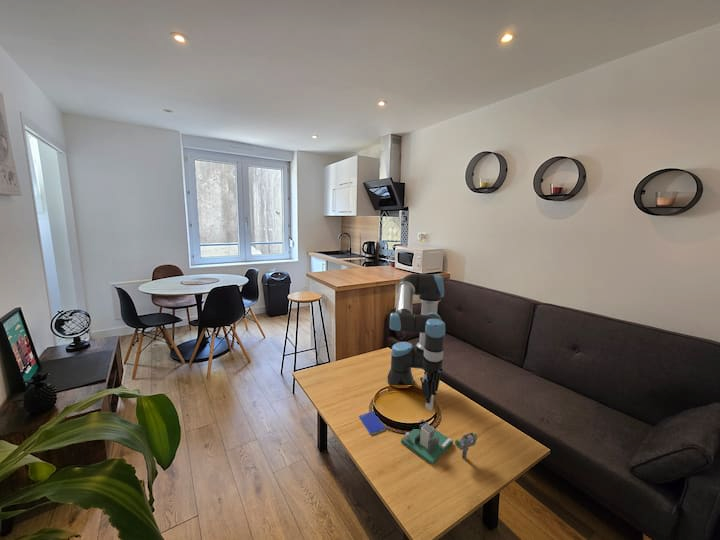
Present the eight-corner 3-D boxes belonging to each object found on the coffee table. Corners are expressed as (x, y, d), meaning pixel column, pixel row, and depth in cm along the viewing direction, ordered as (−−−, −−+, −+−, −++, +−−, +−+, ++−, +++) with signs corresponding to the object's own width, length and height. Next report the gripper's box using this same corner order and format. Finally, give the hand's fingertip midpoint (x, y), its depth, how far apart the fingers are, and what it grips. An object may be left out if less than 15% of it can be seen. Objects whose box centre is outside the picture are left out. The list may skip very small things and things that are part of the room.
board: (422, 424, 144) (422, 416, 143) (452, 443, 133) (453, 435, 131) (401, 442, 133) (401, 433, 132) (432, 465, 122) (432, 456, 121)
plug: (425, 438, 133) (426, 422, 131) (434, 444, 130) (435, 428, 128) (419, 443, 130) (420, 427, 128) (428, 450, 127) (430, 433, 125)
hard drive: (358, 415, 147) (370, 433, 137) (373, 410, 151) (386, 427, 140) (358, 418, 148) (370, 436, 137) (373, 413, 151) (385, 430, 140)
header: (424, 435, 135) (424, 427, 134) (438, 444, 130) (439, 437, 129) (414, 443, 131) (415, 435, 130) (429, 453, 125) (429, 445, 124)
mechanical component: (451, 458, 125) (454, 438, 123) (471, 451, 129) (473, 431, 126) (456, 464, 122) (459, 444, 120) (476, 456, 126) (478, 436, 124)
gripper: (434, 348, 127) (430, 396, 133) (415, 359, 119) (412, 410, 125) (450, 355, 122) (445, 405, 128) (431, 367, 113) (427, 420, 119)
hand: (429, 407), depth 126 cm, fingers closed
